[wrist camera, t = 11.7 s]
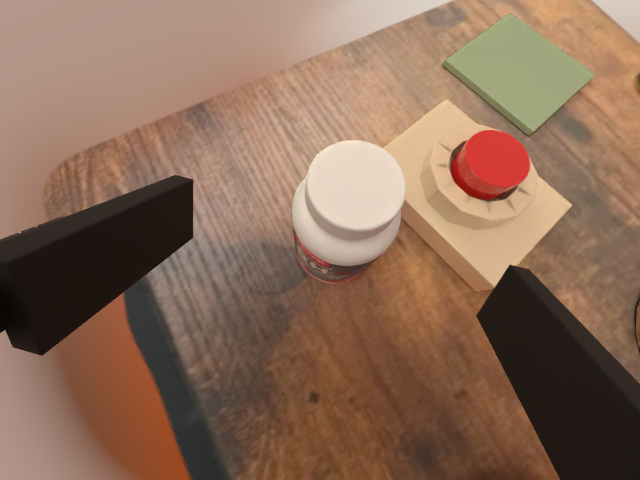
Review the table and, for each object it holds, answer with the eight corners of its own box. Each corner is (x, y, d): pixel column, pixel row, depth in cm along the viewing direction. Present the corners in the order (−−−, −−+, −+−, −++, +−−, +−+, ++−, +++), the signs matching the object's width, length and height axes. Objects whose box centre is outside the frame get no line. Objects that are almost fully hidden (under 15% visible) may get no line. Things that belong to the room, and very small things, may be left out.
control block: (359, 176, 22) (370, 145, 18) (434, 117, 24) (458, 78, 20) (475, 292, 20) (516, 284, 16) (547, 216, 22) (599, 193, 18)
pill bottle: (288, 277, 19) (273, 233, 10) (303, 207, 21) (301, 112, 12) (365, 291, 19) (421, 259, 10) (374, 220, 21) (429, 135, 12)
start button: (438, 169, 18) (451, 153, 17) (476, 136, 19) (492, 118, 18) (485, 212, 18) (503, 200, 16) (522, 176, 18) (543, 161, 17)
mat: (442, 65, 26) (445, 59, 25) (506, 18, 28) (510, 12, 28) (528, 136, 24) (533, 131, 23) (589, 79, 26) (596, 74, 26)
